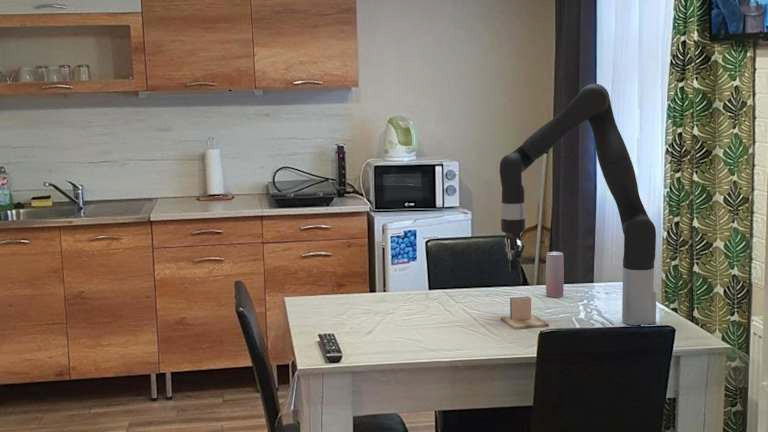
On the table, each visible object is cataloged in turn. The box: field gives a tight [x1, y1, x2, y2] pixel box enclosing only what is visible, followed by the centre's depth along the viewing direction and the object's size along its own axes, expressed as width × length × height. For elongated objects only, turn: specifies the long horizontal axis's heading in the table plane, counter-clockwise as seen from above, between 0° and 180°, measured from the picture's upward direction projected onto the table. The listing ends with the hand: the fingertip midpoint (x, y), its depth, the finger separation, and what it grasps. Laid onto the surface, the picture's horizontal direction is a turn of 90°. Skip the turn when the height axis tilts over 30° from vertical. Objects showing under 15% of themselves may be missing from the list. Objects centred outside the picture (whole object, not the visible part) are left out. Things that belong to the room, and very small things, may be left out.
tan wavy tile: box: [500, 314, 550, 330], centre depth 293 cm, size 11×12×1 cm
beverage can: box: [545, 251, 565, 298], centre depth 327 cm, size 6×6×15 cm
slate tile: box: [509, 295, 532, 320], centre depth 295 cm, size 6×2×7 cm, turn 104°
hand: (513, 270), depth 300 cm, fingers closed
